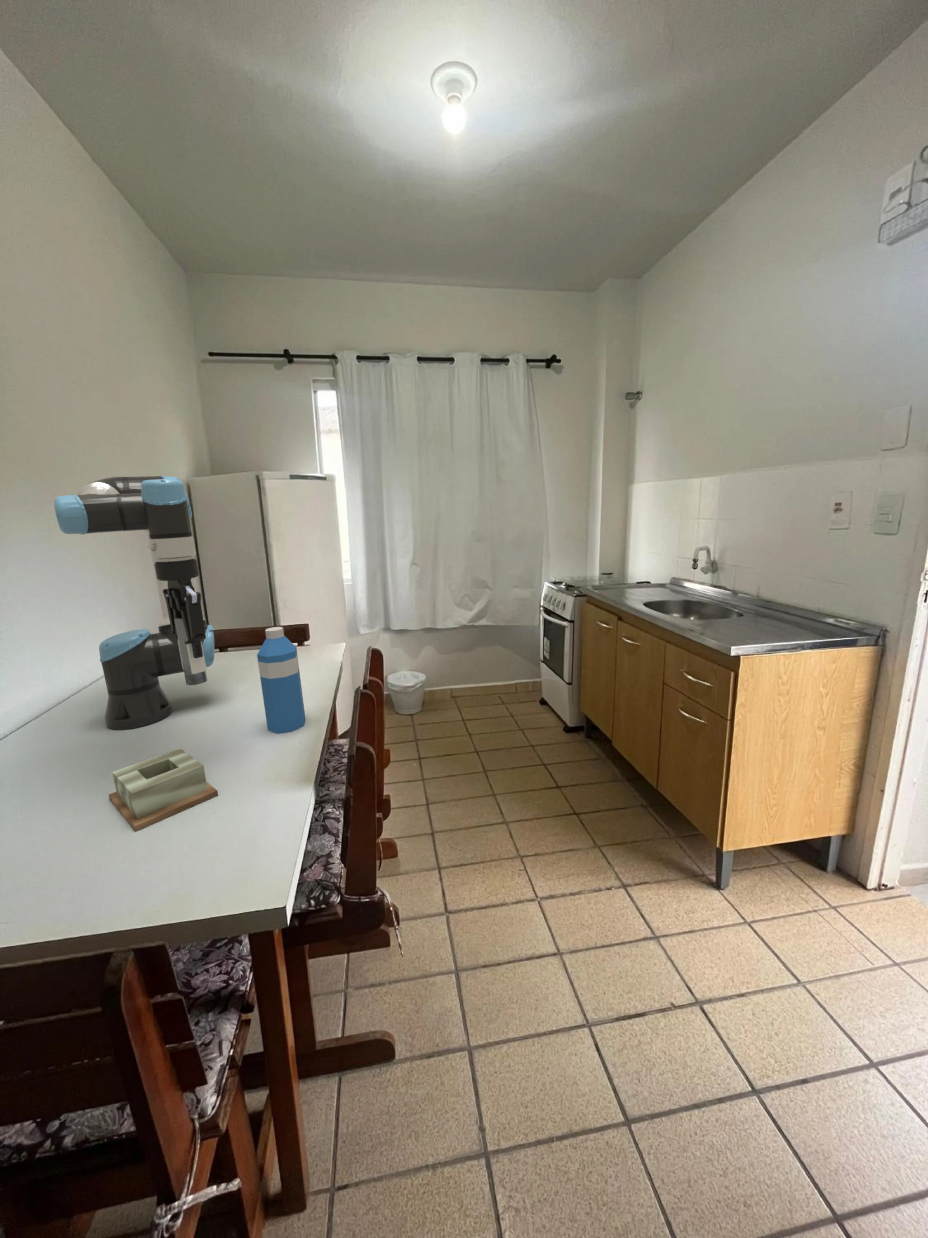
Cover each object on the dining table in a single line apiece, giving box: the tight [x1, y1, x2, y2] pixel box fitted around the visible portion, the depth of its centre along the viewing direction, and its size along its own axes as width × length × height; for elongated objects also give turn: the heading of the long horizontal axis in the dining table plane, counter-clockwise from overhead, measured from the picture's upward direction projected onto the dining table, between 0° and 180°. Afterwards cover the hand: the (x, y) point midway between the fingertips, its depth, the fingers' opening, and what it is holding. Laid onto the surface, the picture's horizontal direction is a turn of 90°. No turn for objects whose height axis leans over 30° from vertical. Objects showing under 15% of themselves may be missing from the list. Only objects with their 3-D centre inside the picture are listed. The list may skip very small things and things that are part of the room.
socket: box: [108, 747, 219, 832], centre depth 98 cm, size 16×14×6 cm
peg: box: [175, 617, 208, 686], centre depth 107 cm, size 4×4×14 cm
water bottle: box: [256, 626, 306, 734], centre depth 126 cm, size 9×9×25 cm
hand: (194, 669), depth 108 cm, fingers closed on peg, 4 cm apart
